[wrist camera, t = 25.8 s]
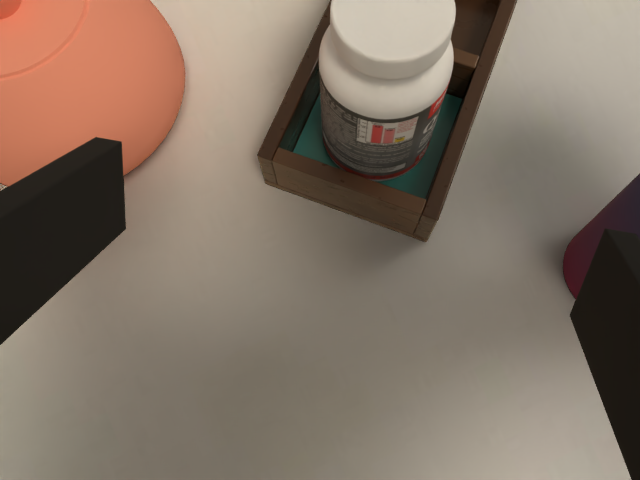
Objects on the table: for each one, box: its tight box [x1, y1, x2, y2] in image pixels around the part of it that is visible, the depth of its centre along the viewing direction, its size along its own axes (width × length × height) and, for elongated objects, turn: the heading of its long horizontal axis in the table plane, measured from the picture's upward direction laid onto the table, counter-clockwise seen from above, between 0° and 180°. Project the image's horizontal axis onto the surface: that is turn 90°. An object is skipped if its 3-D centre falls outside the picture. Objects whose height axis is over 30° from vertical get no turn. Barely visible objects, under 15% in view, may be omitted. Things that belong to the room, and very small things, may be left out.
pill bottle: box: [319, 0, 456, 181], centre depth 26 cm, size 6×6×10 cm
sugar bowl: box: [0, 0, 185, 187], centre depth 27 cm, size 12×14×10 cm
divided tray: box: [257, 0, 517, 242], centre depth 31 cm, size 9×17×4 cm, turn 158°
